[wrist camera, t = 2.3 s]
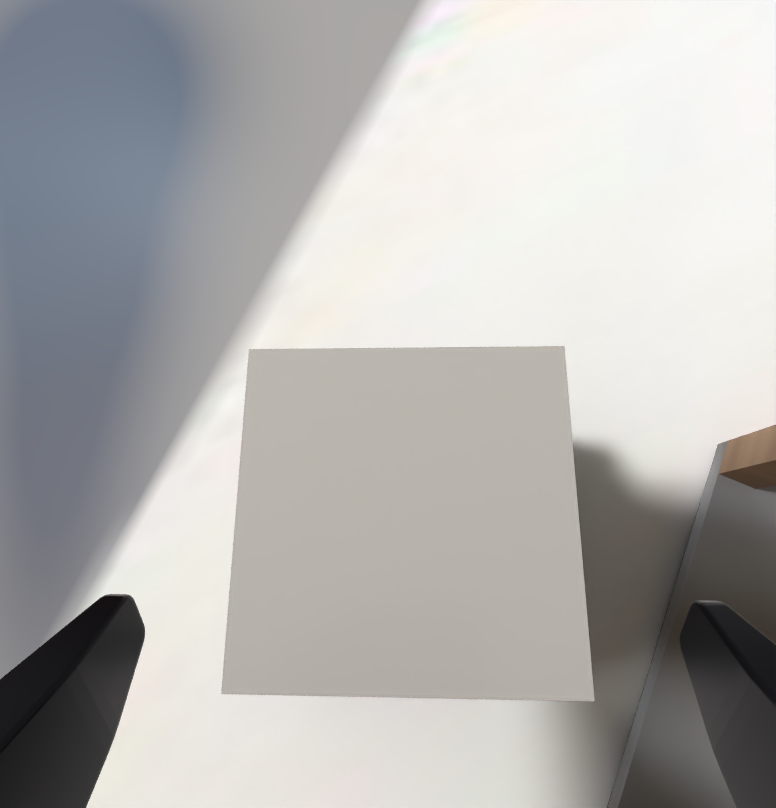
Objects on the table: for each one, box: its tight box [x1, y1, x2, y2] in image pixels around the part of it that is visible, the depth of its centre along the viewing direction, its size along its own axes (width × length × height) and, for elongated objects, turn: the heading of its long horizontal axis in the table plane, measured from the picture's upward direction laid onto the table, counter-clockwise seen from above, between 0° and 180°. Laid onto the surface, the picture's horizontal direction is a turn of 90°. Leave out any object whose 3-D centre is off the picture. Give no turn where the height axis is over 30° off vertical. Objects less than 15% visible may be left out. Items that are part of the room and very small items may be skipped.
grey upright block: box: [221, 346, 595, 701], centre depth 11 cm, size 5×5×7 cm
